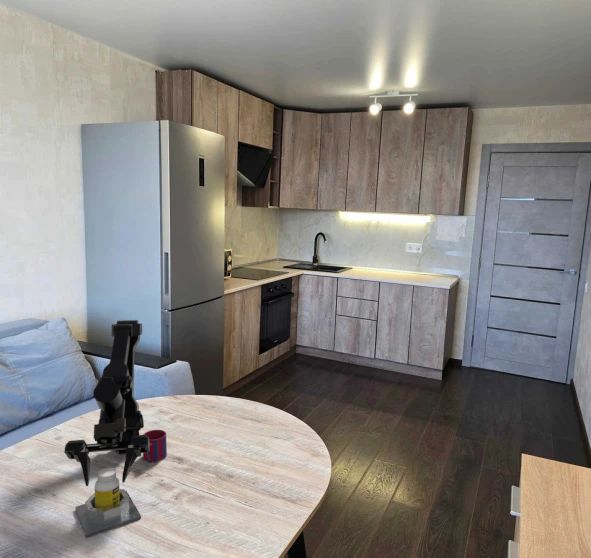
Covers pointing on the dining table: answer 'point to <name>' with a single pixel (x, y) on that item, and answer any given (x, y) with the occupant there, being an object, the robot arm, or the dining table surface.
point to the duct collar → (106, 515)
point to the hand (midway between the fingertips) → (105, 484)
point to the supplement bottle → (106, 489)
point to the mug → (156, 446)
